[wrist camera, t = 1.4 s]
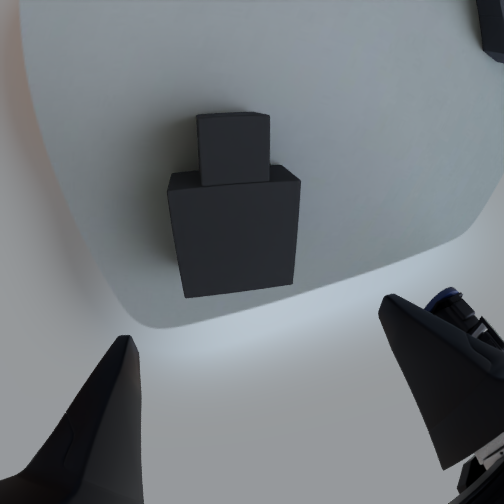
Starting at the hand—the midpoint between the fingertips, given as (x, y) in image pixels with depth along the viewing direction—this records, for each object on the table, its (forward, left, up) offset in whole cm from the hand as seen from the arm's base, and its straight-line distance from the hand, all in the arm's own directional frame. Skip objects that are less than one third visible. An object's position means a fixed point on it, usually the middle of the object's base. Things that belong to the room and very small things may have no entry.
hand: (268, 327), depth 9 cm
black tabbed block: (+2, 0, -9) cm, 9 cm away
